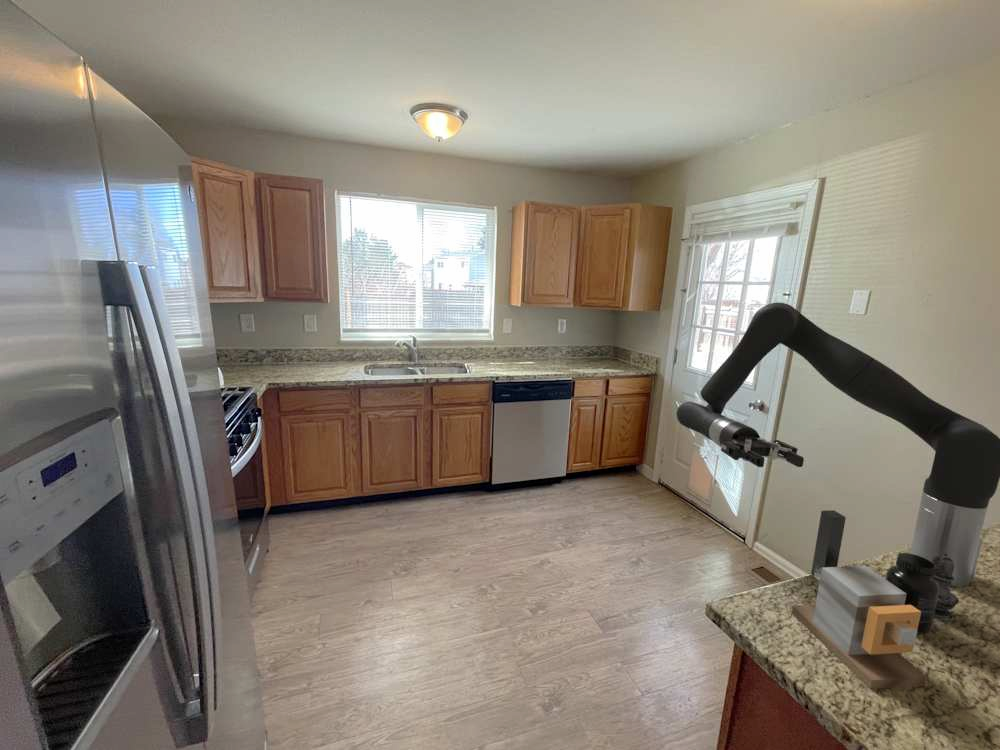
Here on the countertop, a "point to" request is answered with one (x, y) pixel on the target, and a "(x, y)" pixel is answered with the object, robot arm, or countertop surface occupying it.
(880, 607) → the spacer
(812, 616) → the stand
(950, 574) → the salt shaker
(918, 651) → the countertop surface
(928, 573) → the supplement bottle
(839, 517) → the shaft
